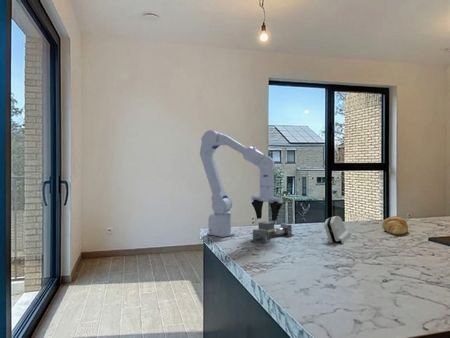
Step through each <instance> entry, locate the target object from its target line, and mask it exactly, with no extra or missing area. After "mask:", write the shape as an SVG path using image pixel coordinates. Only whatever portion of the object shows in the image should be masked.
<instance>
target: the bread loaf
mask: <svg viewBox="0 0 450 338" xmlns="http://www.w3.org/2000/svg"><path fill="white" fill-rule="evenodd" d="M381 227H382V229H383V230H384V231H386V232H387V233H388V234H392V235H396V236H397V235H403V234H407V233H408V232H409V226H408V224H407V221H406V220H405V218H403V217H400V216H399V215H392V216H389V217H387V218H385V219H384V220H383V221H382V223H381Z"/></svg>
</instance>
